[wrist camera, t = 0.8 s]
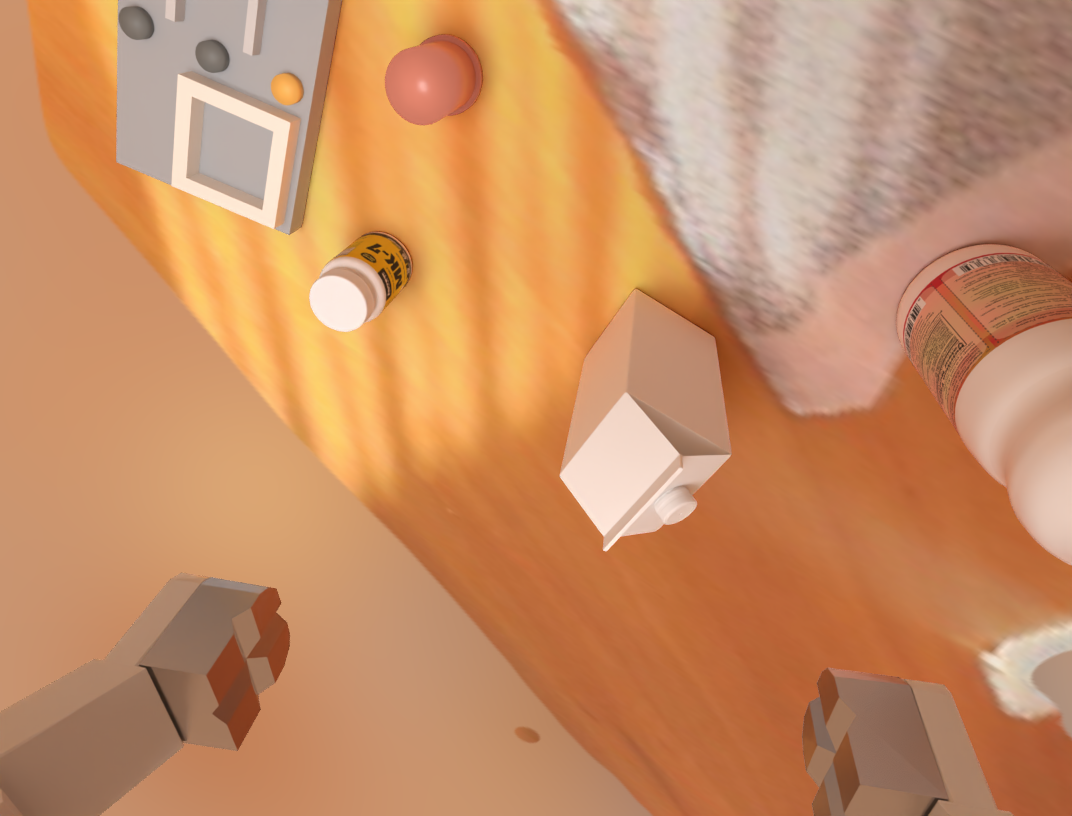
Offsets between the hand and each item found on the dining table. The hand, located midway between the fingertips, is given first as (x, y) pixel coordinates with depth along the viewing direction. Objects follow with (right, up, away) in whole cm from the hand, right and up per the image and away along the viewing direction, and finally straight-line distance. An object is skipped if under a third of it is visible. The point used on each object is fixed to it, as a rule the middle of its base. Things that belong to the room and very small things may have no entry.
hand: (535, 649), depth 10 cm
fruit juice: (+29, +11, +36) cm, 47 cm away
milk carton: (+9, +8, +41) cm, 43 cm away
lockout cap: (-6, +25, +33) cm, 42 cm away
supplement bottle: (-12, +15, +41) cm, 45 cm away
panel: (-19, +29, +33) cm, 48 cm away
